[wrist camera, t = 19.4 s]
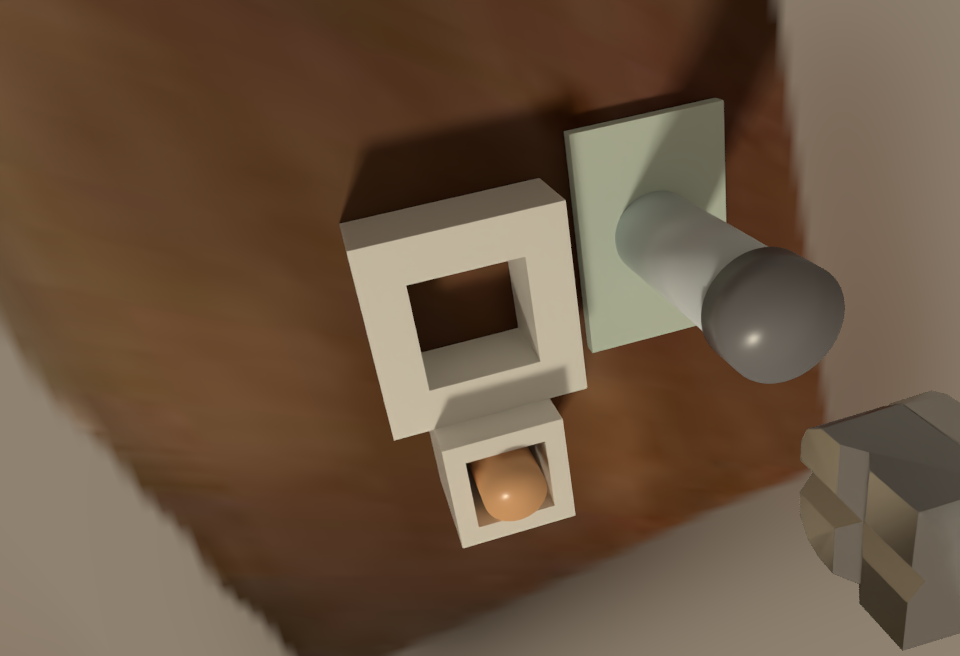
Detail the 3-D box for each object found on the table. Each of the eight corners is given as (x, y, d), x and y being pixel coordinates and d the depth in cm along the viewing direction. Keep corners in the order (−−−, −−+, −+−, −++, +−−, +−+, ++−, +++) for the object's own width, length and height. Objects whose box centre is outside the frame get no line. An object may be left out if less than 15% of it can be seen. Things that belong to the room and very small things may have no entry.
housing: (339, 223, 38) (350, 267, 33) (539, 178, 40) (581, 212, 34) (406, 488, 46) (424, 559, 40) (573, 442, 47) (612, 504, 42)
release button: (460, 432, 42) (478, 476, 38) (519, 416, 42) (543, 458, 39) (470, 481, 43) (488, 528, 40) (527, 465, 44) (550, 510, 40)
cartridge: (604, 197, 40) (723, 281, 29) (697, 174, 41) (846, 249, 30) (614, 288, 42) (727, 397, 32) (702, 265, 43) (843, 364, 32)
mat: (563, 131, 39) (569, 134, 38) (715, 97, 40) (723, 100, 39) (587, 346, 45) (592, 352, 44) (721, 311, 46) (728, 317, 45)
